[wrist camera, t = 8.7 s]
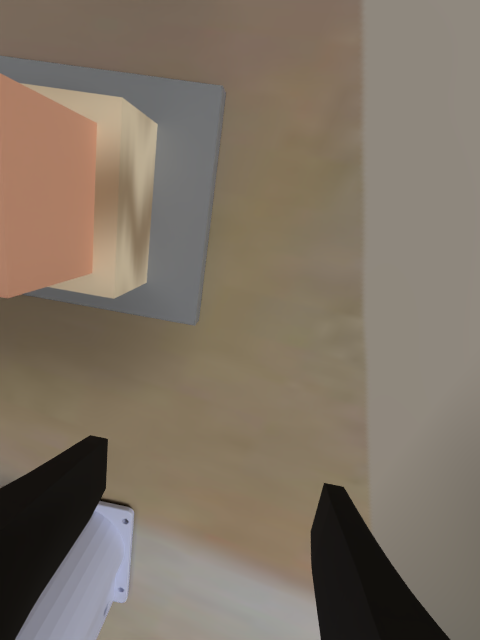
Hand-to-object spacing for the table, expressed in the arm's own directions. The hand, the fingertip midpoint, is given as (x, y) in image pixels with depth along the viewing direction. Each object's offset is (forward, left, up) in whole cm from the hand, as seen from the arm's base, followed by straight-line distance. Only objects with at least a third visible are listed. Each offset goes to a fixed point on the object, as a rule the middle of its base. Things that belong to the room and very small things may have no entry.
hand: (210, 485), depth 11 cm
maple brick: (+8, +9, -9) cm, 15 cm away
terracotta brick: (+8, +9, -5) cm, 13 cm away
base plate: (+8, +9, -10) cm, 16 cm away
